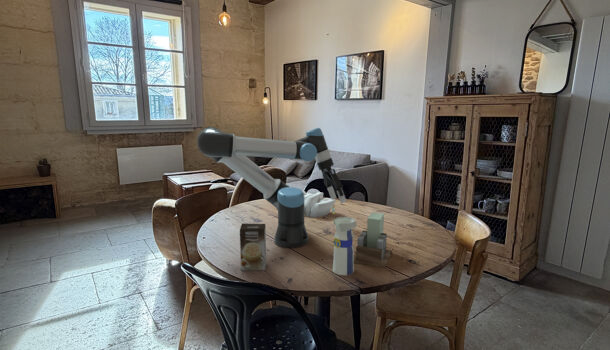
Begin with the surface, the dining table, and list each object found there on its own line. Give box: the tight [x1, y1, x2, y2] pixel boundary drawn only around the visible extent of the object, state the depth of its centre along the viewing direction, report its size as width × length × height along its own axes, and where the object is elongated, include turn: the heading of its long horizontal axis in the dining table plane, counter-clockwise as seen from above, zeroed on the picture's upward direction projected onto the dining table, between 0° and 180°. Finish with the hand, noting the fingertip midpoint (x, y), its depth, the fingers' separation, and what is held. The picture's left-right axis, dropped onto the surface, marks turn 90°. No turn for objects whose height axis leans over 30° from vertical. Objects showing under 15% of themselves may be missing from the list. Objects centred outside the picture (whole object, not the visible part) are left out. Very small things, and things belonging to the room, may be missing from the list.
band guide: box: [354, 230, 392, 269], centre depth 133 cm, size 15×13×9 cm
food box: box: [239, 223, 267, 271], centre depth 124 cm, size 9×6×16 cm
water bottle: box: [331, 205, 358, 276], centre depth 120 cm, size 8×9×25 cm
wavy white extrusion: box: [302, 190, 336, 218], centre depth 194 cm, size 35×16×11 cm, turn 54°
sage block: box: [366, 211, 385, 249], centre depth 137 cm, size 9×5×14 cm, turn 157°
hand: (338, 200), depth 163 cm, fingers open, 13 cm apart
